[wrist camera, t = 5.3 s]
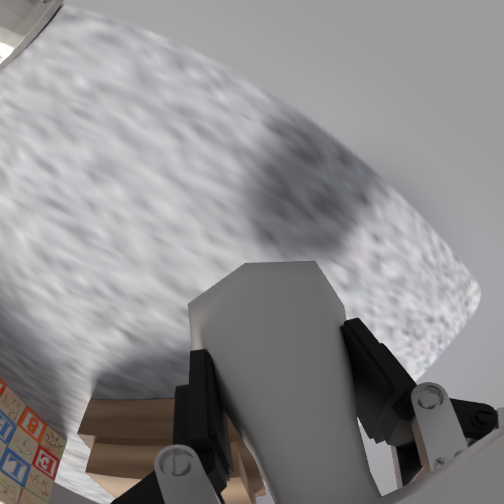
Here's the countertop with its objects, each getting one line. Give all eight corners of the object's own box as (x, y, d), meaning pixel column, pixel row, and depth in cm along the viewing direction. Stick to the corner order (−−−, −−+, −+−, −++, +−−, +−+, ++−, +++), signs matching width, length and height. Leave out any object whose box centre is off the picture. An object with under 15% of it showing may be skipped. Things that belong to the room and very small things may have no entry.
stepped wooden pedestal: (90, 399, 19) (67, 463, 12) (242, 390, 19) (254, 468, 13) (145, 471, 23) (140, 521, 16) (260, 465, 24) (270, 519, 17)
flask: (328, 231, 11) (533, 411, 2) (348, 355, 14) (441, 507, 5) (159, 288, 11) (109, 554, 2) (220, 399, 14) (245, 574, 5)
